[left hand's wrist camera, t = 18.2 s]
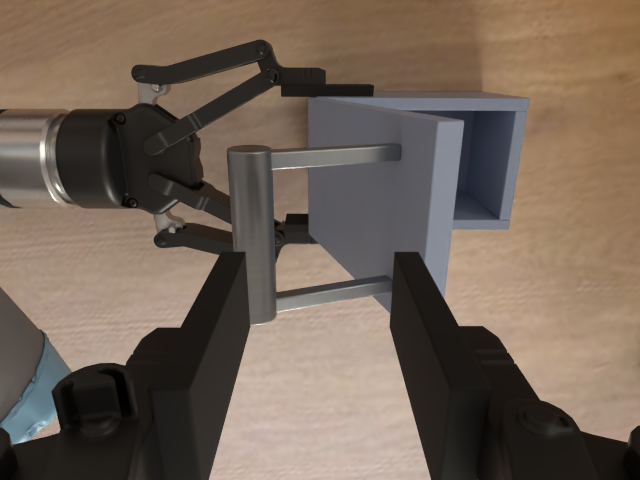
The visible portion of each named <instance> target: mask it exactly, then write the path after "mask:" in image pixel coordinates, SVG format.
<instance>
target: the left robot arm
mask: <svg viewBox="0 0 640 480" xmlns="http://www.w3.org/2000/svg"><path fill="white" fill-rule="evenodd" d="M249 330H250V314H249V298H248V282H247V266H246V252H221V254H220V256H219V257H218V259H217V261H216V263H215V265H214V267H213V268H212V270H211V272H210V274H209V276H208V278H207V280H206V281H205V283H204V285H203V287H202V289H201V291H200V292H199V294H198V296H197V298H196V300H195V302H194V304H193V305H192V307H191V309H190V311H189V313H188V315H187V316H186V318H185V320H184V322H183V324H182V326H181V327H180V328H156V329H155V330H154V331H152V332H151V333H149V334H148V335H147V336H145V337H144V338H142V340H141V341H140V343H139V344H138V346H137V347H136V349H135V350H134V352H133V354H132V355H131V356H130V358H129V359H128V361H127V362H126V366H124V365H120V364H116V363H100V364H95V365H91V366H87V367H84V368H81V369H79V370H77V371H75V372H72V373H70V374H69V375H67V376H66V377H65V378H63V379H62V380H60V381H59V382H58V383H57V384H56V386H55V387H54V388H53V390H52V391H51V393H52V397H53V400H54V404H55V408H56V412H57V416H58V420H59V424H60V428H61V430H60V432H59V433H58V434H54V435H51V436H48V437H43V438H39V439H35V440H30V441H26V442H22V443H17V444H12V440H11V437H10V434H9V433H8V432H7V431H6V430H5V429H3V428H1V427H0V480H209V477H210V473H211V469H212V466H213V462H214V458H215V455H216V451H217V447H218V444H219V440H220V436H221V433H222V429H223V425H224V422H225V418H226V414H227V410H228V407H229V403H230V399H231V396H232V392H233V388H234V385H235V381H236V377H237V374H238V370H239V366H240V363H241V359H242V355H243V352H244V348H245V344H246V341H247V337H248V333H249ZM390 330H391V333H392V337H393V341H394V344H395V348H396V352H397V355H398V359H399V363H400V366H401V370H402V374H403V377H404V381H405V385H406V388H407V392H408V396H409V399H410V403H411V407H412V411H413V414H414V418H415V422H416V425H417V429H418V433H419V436H420V440H421V444H422V447H423V451H424V455H425V458H426V462H427V466H428V469H429V473H430V477H431V480H640V426H637V427H636V428H635V429H634V430H633V431H632V432H631V434H630V437H629V440H628V443H627V442H623V441H618V440H614V439H609V438H605V437H601V436H596V435H592V434H589V433H585V432H582V431H580V429H579V427H578V426H577V424H576V423H575V421H574V420H573V418H571V417H570V416H569V415H568V414H567V413H565V412H564V411H563V410H562V409H560V408H558V407H556V406H554V405H552V404H550V403H548V402H544V401H541V400H540V399H539V398H538V396H537V395H536V393H535V392H534V390H533V389H532V387H531V386H530V384H529V383H528V381H527V380H526V378H525V377H524V375H523V374H522V372H521V371H520V369H519V368H518V366H517V365H516V364H514V360H513V359H512V357H511V356H510V354H509V353H507V350H506V348H505V347H504V345H503V344H502V342H501V341H500V339H499V338H498V337H497V336H496V335H494V334H493V333H491V332H490V331H489V330H487V329H486V328H484V327H483V326H458V324H457V322H456V320H455V318H454V316H453V315H452V313H451V311H450V309H449V307H448V305H447V304H446V302H445V300H444V298H443V296H442V294H441V292H440V291H439V289H438V287H437V285H436V283H435V281H434V280H433V278H432V276H431V274H430V272H429V270H428V268H427V267H426V265H425V263H424V261H423V259H422V257H421V256H420V254H419V252H394V266H393V282H392V298H391V314H390Z"/></svg>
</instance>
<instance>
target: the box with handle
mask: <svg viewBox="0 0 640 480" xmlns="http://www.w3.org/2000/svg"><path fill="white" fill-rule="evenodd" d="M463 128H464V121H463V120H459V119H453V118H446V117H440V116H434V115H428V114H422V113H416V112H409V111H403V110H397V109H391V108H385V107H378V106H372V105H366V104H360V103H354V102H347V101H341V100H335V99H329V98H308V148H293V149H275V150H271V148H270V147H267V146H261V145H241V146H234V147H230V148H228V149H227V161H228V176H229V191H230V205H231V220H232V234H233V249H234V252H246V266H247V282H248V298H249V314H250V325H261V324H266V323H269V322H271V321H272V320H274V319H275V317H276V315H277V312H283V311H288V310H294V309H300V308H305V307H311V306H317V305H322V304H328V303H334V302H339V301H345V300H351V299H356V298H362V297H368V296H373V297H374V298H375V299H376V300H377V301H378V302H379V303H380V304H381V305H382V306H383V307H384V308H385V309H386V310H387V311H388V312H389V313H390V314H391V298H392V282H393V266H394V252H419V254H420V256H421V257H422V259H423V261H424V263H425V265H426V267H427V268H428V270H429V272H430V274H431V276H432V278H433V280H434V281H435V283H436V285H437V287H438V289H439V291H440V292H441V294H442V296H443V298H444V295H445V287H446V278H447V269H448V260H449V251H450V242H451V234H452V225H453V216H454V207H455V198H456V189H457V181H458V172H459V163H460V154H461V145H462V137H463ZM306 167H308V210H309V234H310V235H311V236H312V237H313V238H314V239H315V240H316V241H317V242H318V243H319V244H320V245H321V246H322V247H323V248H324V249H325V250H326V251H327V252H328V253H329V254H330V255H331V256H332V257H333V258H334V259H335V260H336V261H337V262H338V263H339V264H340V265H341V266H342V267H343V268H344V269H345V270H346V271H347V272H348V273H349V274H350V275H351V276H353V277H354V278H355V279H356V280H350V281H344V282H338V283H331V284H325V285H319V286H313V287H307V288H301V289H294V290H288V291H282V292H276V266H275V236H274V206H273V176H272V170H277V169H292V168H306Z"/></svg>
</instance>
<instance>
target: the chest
mask: <svg viewBox="0 0 640 480" xmlns="http://www.w3.org/2000/svg"><path fill="white" fill-rule="evenodd" d="M316 98H329V99H335V100H341V101H347V102H354V103H360V104H366V105H372V106H378V107H385V108H391V109H397V110H403V111H409V112H416V113H422V114H428V115H434V116H440V117H446V118H453V119H459V120H463V121H464V128H463V137H462V145H461V154H460V163H459V172H458V181H457V189H456V198H455V207H454V216H453V225H452V230H509V223H510V220H509V219H510V216H511V210H512V204H513V197H514V191H515V185H516V179H517V172H518V166H519V160H520V154H521V147H522V141H523V135H524V129H525V122H526V116H527V110H528V105H529V98H525V97H517V96H510V95H503V94H496V93H489V92H442V91H374V94H373V96H317V97H316Z"/></svg>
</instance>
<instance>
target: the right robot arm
mask: <svg viewBox="0 0 640 480" xmlns="http://www.w3.org/2000/svg"><path fill="white" fill-rule="evenodd" d="M255 62H258V65H259V67H260V70H261V73H259V74H257V75H256V76H254V77H252V78H251V79H249V80H247V81H245V82H244V83H242V84H240V85H239V86H237V87H235V88H234V89H232V90H230V91H229V92H227V93H225V94H223V95H222V96H220V97H218V98H217V99H215V100H213V101H212V102H210V103H208V104H207V105H205V106H203V107H201V108H200V109H198V110H196V111H195V112H193V113H191V114H189V115H187V116H186V117H184V118H182V119H180V120H179V119H178V118H176V117H175V116H173V115H172V114H171V113H169V112H168V111H166V110H165V109H163V108H162V107H160V106H159V105H158V104H156V103H157V99H158V98H159V97H160V96H161V95H166V94H168V93H169V92H170V88H171V84H178V83H184V82H188V81H191V80H195V79H198V78H202V77H205V76H209V75H212V74H216V73H219V72H223V71H227V70H230V69H234V68H237V67H241V66H244V65H248V64H251V63H255ZM131 74H132V77H133V79H134V80H135V81H136V82H138V96H139V104H137V105H135V106H133V107H132V108H130V109H75V110H73V111H71V112H70V111H68V110H65V109H1V110H0V208H62V209H74V208H76V207H79V206H80V207H82V208H108V209H130V208H138V209H142V210H145V211H147V212H149V213H151V214H153V215H154V219H155V223H156V228H157V232H158V234H157V235H156V236H155V237H154V243H155V245H156V246H157V247H160V248H169V247H181V246H184V247H189V248H193V249H197V250H201V251H205V252H209V253H213V254H218V255H220V254H221V252H234V249H233V234H232V232H229V231H225V230H221V229H216V228H212V227H208V226H204V225H200V224H195V223H185V222H184V220H183V219H182V218H180V217H176V216H173V215H172V214H171V213H170V211H169V209H171V208H172V207H173V206H175V205H176V204H177V203H179V202H182V203H184V204H186V205H188V206H190V207H192V208H194V209H197V210H204V211H206V212H208V213H210V214H212V215H214V216H216V217H218V218H220V219H222V220H224V221H226V222H228V223H230V224H232V220H231V205H230V196H228V195H226V194H224V193H222V192H220V191H218V190H217V189H215V188H214V186H212V185H211V184H209V183H207V182H205V181H203V180H201V179H202V178H203V167H202V164H201V161H200V159H199V155H200V150H201V143H200V138H198V137H197V135H196V133H195V132H197V131H198V130H200V129H202V128H204V127H205V126H207V125H209V124H210V123H212V122H214V121H215V120H217V119H219V118H221V117H222V116H224V115H226V114H227V113H229V112H231V111H233V110H234V109H236V108H238V107H239V106H241V105H243V104H245V103H246V102H248V101H250V100H252V99H253V98H255V97H257V96H258V95H260V94H262V93H264V92H265V91H267V90H269V89H270V88H272V87H274V86H281V97H317V96H373V94H374V85H370V84H326V71H325V70H323V69H320V68H285V67H282V66H281V65H279V63H278V62H277V60H276V57H275V55H274V52H273V48H272V46H271V44H269V43H268V42H266V41H264V40H256V41H252V42H249V43H246V44H242V45H239V46H235V47H232V48H228V49H225V50H221V51H218V52H214V53H211V54H207V55H204V56H201V57H197V58H194V59H190V60H187V61H183V62H180V63H176V64H173V65H169V66H157V65H136V66H134V67H133V68H132V71H131ZM274 236H275V264H276V262H277V258H278V255H279V253H280V250H281V248H282V247H283V246H284V245H287V244H319V243H318V242H317V241H316V240H315V239H314V238H313V237H312V236H311V235H310V234H309V214H287V216H286V220H285V221H282V223H281V222H279V221H277V220H275V219H274ZM70 373H72V371H71V370H70V368H69V367H68V366H67V365H66V363H65V362H64V360H63V359H62V358H61V356H60V355H59V353H58V352H57V351H56V349H55V348H54V347H53V345H52V344H51V342H50V341H49V338H48V337H47V334H46V333H44V332H43V331H42V330H41V329H38V328H37V327H36V326H35V325H34V324H33V323H32V321H31V320H30V319H29V318H28V317H27V316H26V315H25V314H24V313H23V311H22V310H21V309H20V308H19V307H18V306H17V305H16V304H15V303H14V302H13V300H12V299H11V298H10V297H9V296H8V295H7V294H6V293H5V292H4V291H3V289H2V288H1V287H0V427H1V428H3V429H5V430H6V431H7V432H8V433H9V434H10V437H11V440H12V444H17V443H22V442H26V441H29V440H30V439H31V438H32V437H33V436H34V434H35V433H36V432H37V431H39V430H40V429H42V428H43V427H45V426H47V425H48V424H49V423H50V422H51V421H52V420H53V419H54V418H55V417H56V416H57V412H56V408H55V404H54V400H53V397H52V393H51V391H52V390H53V388H54V387H55V386H56V384H57V383H58V382H59V381H60V380H62V379H63V378H65V377H66V376H67V375H69V374H70Z"/></svg>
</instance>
